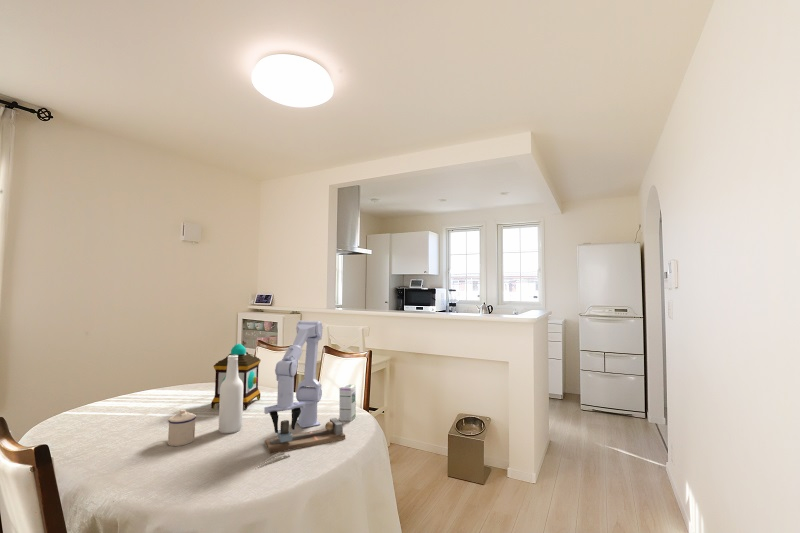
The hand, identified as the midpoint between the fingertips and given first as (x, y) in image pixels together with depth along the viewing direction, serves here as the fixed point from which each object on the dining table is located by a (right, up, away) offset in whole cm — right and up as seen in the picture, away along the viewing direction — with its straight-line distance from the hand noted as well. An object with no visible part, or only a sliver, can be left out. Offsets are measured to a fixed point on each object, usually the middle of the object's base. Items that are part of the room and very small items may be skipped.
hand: (284, 430), depth 139 cm
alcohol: (-27, -6, +15) cm, 31 cm away
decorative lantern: (-39, -8, +49) cm, 63 cm away
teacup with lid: (-41, -6, +3) cm, 41 cm away
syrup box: (+19, -8, +29) cm, 35 cm away
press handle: (0, -3, 0) cm, 3 cm away
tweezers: (-2, -5, -15) cm, 16 cm away
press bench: (+7, -6, +4) cm, 10 cm away
